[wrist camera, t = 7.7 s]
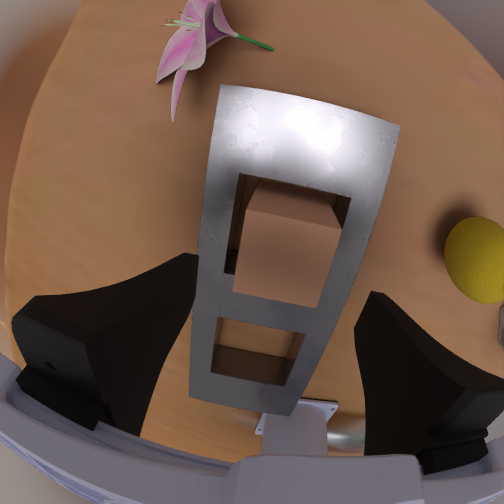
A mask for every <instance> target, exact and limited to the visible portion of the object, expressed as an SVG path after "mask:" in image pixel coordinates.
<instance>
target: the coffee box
mask: <svg viewBox="0 0 504 504" xmlns="http://www.w3.org/2000/svg"><path fill="white" fill-rule="evenodd" d="M498 342H499V344H500V346H501V347H502V349H503V350H504V306H502V307H501V309H500V326H499V338H498Z"/></svg>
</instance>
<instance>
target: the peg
mask: <svg viewBox="0 0 504 504" xmlns="http://www.w3.org/2000/svg"><path fill="white" fill-rule="evenodd" d="M341 232H342V229H341V227H340V225H339V222H338V220H337V218H336V216H335V214H334V212H333V210H332V208H331V206H330V204H329V202H328V200H327V198H326V196H325V194H324V193H321V192H317V191H313V190H308V189H304V188H300V187H295V186H291V185H286V184H281V183H276V182H272V181H267V180H262V179H260V181H259V183H258V185H257V187H256V189H255V191H254V193H253V196H252V198H251V200H250V202H249V204H248V206H247V208H246V213H245V219H244V224H243V230H242V236H241V242H240V247H239V253H238V259H237V265H236V271H235V277H234V283H233V289H232V291H233V292H238V293H242V294H247V295H252V296H257V297H262V298H266V299H271V300H276V301H281V302H287V303H292V304H297V305H302V306H307V307H313V308H316V307H317V304H318V301H319V298H320V296H321V293H322V290H323V287H324V284H325V281H326V278H327V275H328V273H329V270H330V267H331V264H332V261H333V257H334V254H335V251H336V248H337V245H338V242H339V239H340V235H341Z"/></svg>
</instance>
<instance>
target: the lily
mask: <svg viewBox="0 0 504 504" xmlns="http://www.w3.org/2000/svg"><path fill="white" fill-rule="evenodd" d="M179 13H181V15H182V16H181V21H177V20H175V19H171V20H172V21H171V20H165V22H172V23H180V25H178V26H180V29H179V30H178V31H176V32H175V33H174V35H173V36H172V37H171V38H170V40H169V42H168V44H167V46H166V47H165V50H164V52H163V55H162V58H161V61H160V65H159V69H158V73H157V79H156V84H157V83H158V82H159V81H160V80H161V79H162V78H164V77H166V76H167V75H169V74H170V73H172V72H173V71H175V70H176V69H178V70H177V72H176V75H175V78H174V83H173V90H172V101H171V115H172V122H173V120H174V116H175V111H176V107H177V102H178V99H179V95H180V91H181V88H182V84H183V82H184V79H185V76H186V74H187V72H188V70H194V69H197V68H200V67H201V66H202V64H203V63H204V61H205V55H206V49H207V48H209V47H210V46H212V45H213V44H215V43H216V42H218V41H219V40H221V39H223V38H225V37H227V36H232V37H236V38H239V39H242V40H244V41H247V42H250V43H252V44H255V45H258V46H260V47H263V48H265V49H268V50H270V51H274V48H272V47H270V46H268V45H265V44H263V43H261V42H258V41H256V40H253V39H250V38H248V37H245V36H243V35H240V34H238V33H236V32H234V31H233V30H232V29H231V28H230V26H229V24H228V23H227V21H226V18H225V16H224V14H223V11H222V8H221V4H220V0H189V1H188V2H187V4H186V6H185V9H184V11H183V13H182V12H180V11H179ZM167 25H175V24H166V25H161V26H167Z"/></svg>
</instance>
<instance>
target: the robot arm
mask: <svg viewBox="0 0 504 504" xmlns="http://www.w3.org/2000/svg"><path fill="white" fill-rule="evenodd" d="M198 264H199V255H194V254H190V253H183V254H181V255H179V256H177V257H175V258H173V259H171V260H169V261H167V262H165V263H163V264H161V265H159V266H157V267H155V268H153V269H151V270H149V271H147V272H144V273H142V274H140V275H138V276H136V277H133V278H131V279H128V280H125V281H123V282H120V283H117V284H113V285H110V286H106V287H102V288H98V289H94V290H90V291H84V292H78V293H71V294H62V295H42V296H34V297H33V298H32V299H31V300H30V301H29V302H28V303H27V304H26V305H25V306H24V307H23V308H22V309H21V310H20V311H19V312H17V313H16V314H15V315H14V316H13V318H12V322H11V324H12V332H13V335H14V338H15V340H16V342H17V345H18V347H19V349H20V351H21V353H22V355H23V357H24V360H25V362H26V364H27V366H26V367H25V368H24V369H23V371H22V370H21V369H20V367H19V366H18V365H17V364H15V363H14V362H13V361H11V360H10V359H8V358H7V357H5V356H4V355H3V354H1V353H0V441H1V442H2V443H4V444H5V445H6V446H7V447H8V448H10V449H11V450H12V451H13V452H15V453H16V454H17V455H19V456H20V457H21V458H22V459H24V460H25V461H26V462H28V463H29V464H30V465H32V466H33V467H35V468H36V469H38V470H39V471H40V472H42V473H43V474H45V475H46V476H48V477H49V478H51V479H52V480H54V481H56V482H57V483H59V484H60V485H62V486H64V487H65V488H67V489H69V490H70V491H72V492H74V493H76V494H77V495H79V496H81V497H83V498H85V499H87V500H89V501H90V502H93V503H95V504H487V503H488V502H490V501H492V500H493V499H495V498H497V497H498V496H500V495H502V494H503V493H504V437H500V438H497V439H494V440H492V441H490V442H488V443H485V440H484V438H485V437H487V436H488V431H487V428H486V427H488V426H489V425H490V424H491V423H492V422H493V421H494V420H495V419H496V418H497V417H498V416H499V415H500V414H501V413H502V412H503V410H504V379H503V378H500V377H498V376H495V375H493V374H490V373H488V372H486V371H484V370H482V369H480V368H478V367H476V366H474V365H472V364H470V363H468V362H467V361H465V360H463V359H462V358H460V357H459V356H457V355H455V354H454V353H452V352H451V351H450V350H448V349H447V348H445V347H444V346H443V345H441V344H440V343H439V342H438V341H436V340H435V339H434V338H433V337H431V336H430V335H429V334H428V333H427V332H426V331H425V330H423V329H422V328H421V327H420V326H419V325H418V324H417V323H416V322H415V321H414V320H413V319H412V318H411V317H410V316H408V315H407V314H406V313H405V312H404V311H403V310H402V309H401V308H400V307H399V306H398V305H397V304H396V303H395V302H394V301H393V300H391V299H390V298H389V297H388V296H387V295H385V294H384V293H380V292H374V291H371V292H370V294H369V296H368V299H367V301H366V303H365V305H364V308H363V310H362V312H361V314H360V316H359V319H358V321H357V323H356V325H355V327H354V339H355V349H356V354H357V359H358V364H359V369H360V374H361V379H362V384H363V389H364V396H365V414H366V432H365V449H364V456H328V445H327V422H328V420H329V419H330V418H331V416H332V415H333V414H334V412H335V411H336V410H337V408H338V406H339V405H338V403H337V402H327V401H317V400H308V399H299V401H298V403H297V405H296V406H295V408H294V410H293V412H292V414H291V415H290V417H289V416H281V415H274V414H268V413H262V415H261V418H260V420H259V422H258V425H257V427H256V429H255V434H258V435H262V440H261V448H260V455H254V456H247V457H245V458H243V459H241V460H240V461H238V462H237V463H232V462H227V461H222V460H217V459H212V458H208V457H204V456H199V455H195V454H191V453H188V452H184V451H180V450H177V449H173V448H170V447H167V446H164V445H160V444H157V443H154V442H151V441H148V440H145V439H143V438H140V433H141V429H142V426H143V422H144V419H145V416H146V412H147V409H148V406H149V403H150V400H151V397H152V394H153V391H154V388H155V385H156V382H157V380H158V377H159V374H160V372H161V369H162V367H163V364H164V362H165V360H166V357H167V355H168V353H169V352H170V350H171V348H172V346H173V344H174V342H175V340H176V339H177V337H178V335H179V333H180V331H181V329H182V327H183V326H184V324H185V322H186V320H187V318H188V316H189V314H190V311H191V308H192V306H193V303H194V300H195V297H196V287H197V275H198Z"/></svg>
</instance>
